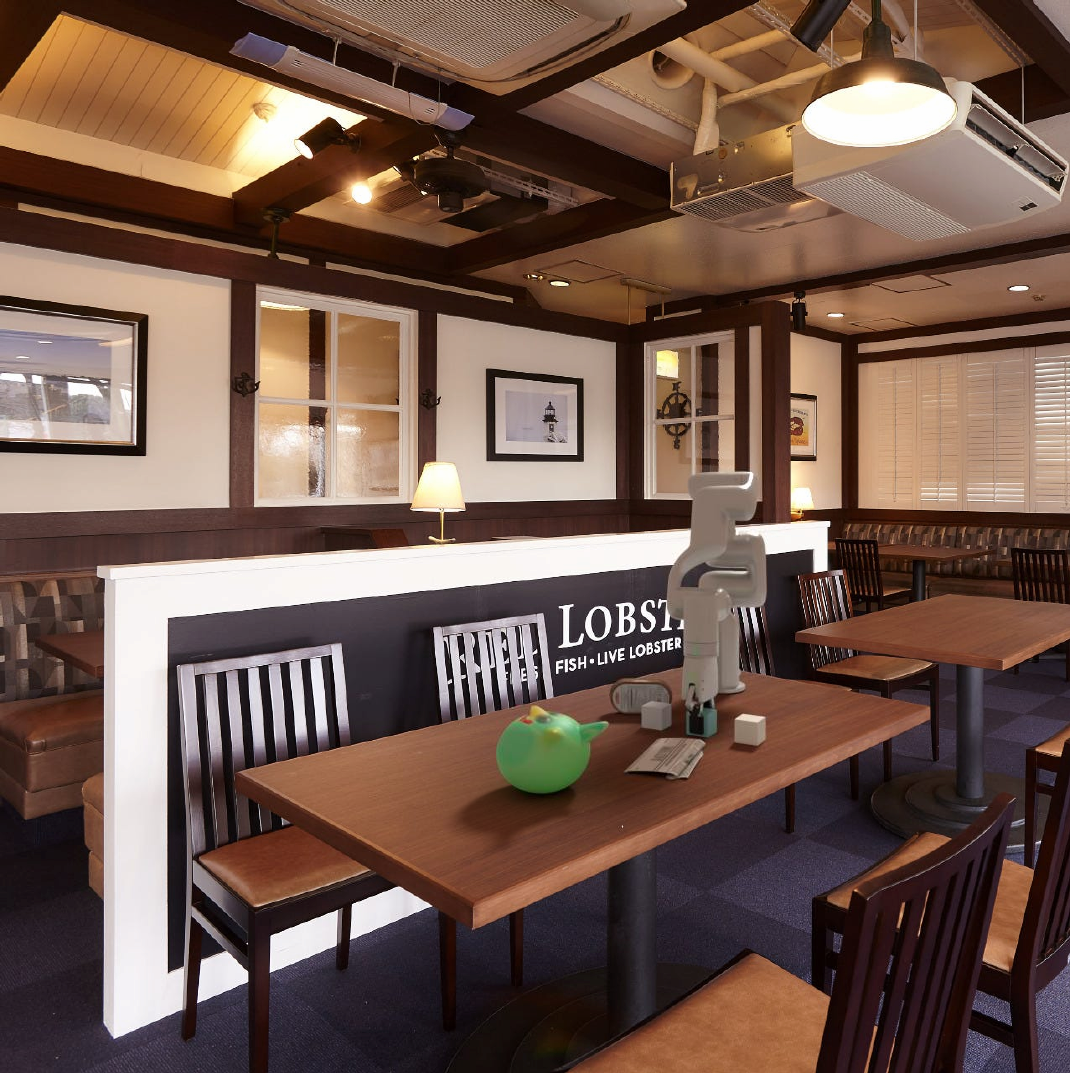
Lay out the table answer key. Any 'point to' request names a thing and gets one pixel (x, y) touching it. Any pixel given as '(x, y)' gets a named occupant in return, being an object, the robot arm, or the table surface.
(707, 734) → the teal block
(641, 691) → the tin
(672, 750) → the newspaper
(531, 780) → the toy bird
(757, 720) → the cream block
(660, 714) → the grey block
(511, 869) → the table surface
